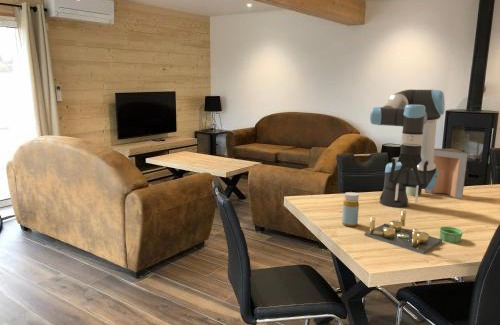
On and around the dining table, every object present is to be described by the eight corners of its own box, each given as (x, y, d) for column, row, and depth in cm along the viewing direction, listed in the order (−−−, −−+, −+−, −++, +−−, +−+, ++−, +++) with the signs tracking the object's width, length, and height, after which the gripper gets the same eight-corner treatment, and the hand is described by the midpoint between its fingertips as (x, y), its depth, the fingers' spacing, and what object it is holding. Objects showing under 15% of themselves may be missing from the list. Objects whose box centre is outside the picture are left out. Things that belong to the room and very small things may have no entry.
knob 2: (397, 231, 173) (399, 217, 171) (387, 228, 176) (388, 214, 175) (408, 226, 180) (410, 212, 179) (398, 223, 183) (399, 209, 182)
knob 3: (418, 237, 166) (419, 222, 165) (430, 241, 163) (431, 226, 161) (406, 244, 159) (408, 228, 158) (418, 247, 156) (420, 232, 154)
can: (401, 193, 241) (403, 174, 239) (408, 191, 247) (410, 172, 245) (416, 196, 234) (418, 177, 232) (423, 194, 241) (425, 175, 238)
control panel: (364, 235, 172) (364, 231, 172) (384, 225, 184) (385, 221, 184) (423, 254, 153) (424, 249, 153) (442, 242, 166) (442, 237, 165)
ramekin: (451, 245, 163) (452, 235, 162) (433, 237, 171) (434, 227, 170) (466, 242, 167) (467, 232, 166) (448, 234, 175) (449, 225, 174)
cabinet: (424, 192, 244) (429, 148, 238) (430, 190, 251) (434, 146, 245) (461, 199, 230) (467, 152, 224) (465, 196, 237) (471, 150, 231)
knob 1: (395, 234, 169) (396, 220, 168) (393, 238, 165) (395, 223, 163) (370, 230, 174) (371, 216, 172) (368, 234, 169) (369, 219, 168)
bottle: (348, 228, 181) (351, 196, 178) (338, 223, 187) (340, 192, 184) (360, 225, 184) (362, 194, 181) (350, 221, 190) (352, 191, 187)
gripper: (383, 143, 155) (379, 199, 159) (439, 147, 146) (432, 207, 151) (386, 141, 161) (381, 195, 166) (439, 145, 153) (433, 202, 157)
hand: (406, 200), depth 158 cm, fingers open, 7 cm apart
